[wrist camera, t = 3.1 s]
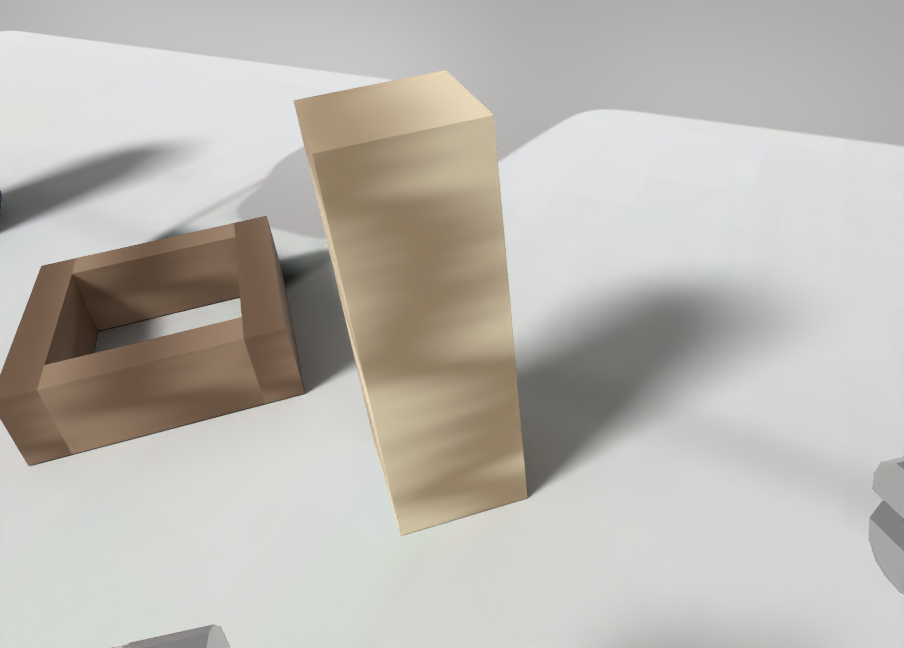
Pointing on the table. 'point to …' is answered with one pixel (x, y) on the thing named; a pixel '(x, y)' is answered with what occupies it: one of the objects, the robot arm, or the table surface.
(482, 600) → the table surface
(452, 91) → the peg
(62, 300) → the socket
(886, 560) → the robot arm
